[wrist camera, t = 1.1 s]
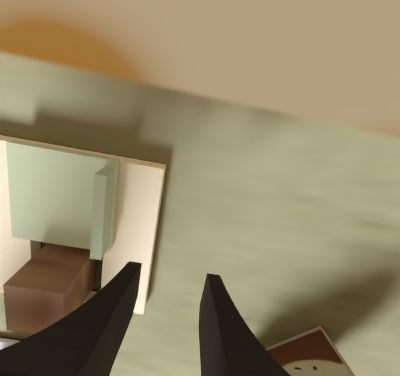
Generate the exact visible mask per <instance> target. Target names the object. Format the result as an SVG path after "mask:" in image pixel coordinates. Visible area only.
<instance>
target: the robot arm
mask: <svg viewBox="0 0 400 376" xmlns="http://www.w3.org/2000/svg"><path fill="white" fill-rule="evenodd" d="M141 266H142V263H138V262H131V261H129V262H128V263H127V264H126V265H125V266H124V267H123V268H122V269H121V270H120V271H119V272H118V273H117V274H116V275H115V276H114V277H113V278H112V279H111V280H110V281H109V282H108V283H107V284H106V285H105V286H104V287H103V288H102V289H101V290H99V291H98V292H97V293H96V294H95V295H93V296H92V297H91V298H90V299H89V300H87V301H86V302H85V303H83V304H82V305H81V306H79V307H78V308H77V309H75V310H74V311H72V312H71V313H69V314H68V315H66V316H65V317H63V318H62V319H60V320H59V321H57V322H55V323H54V324H52V325H50V326H49V327H47V328H45V329H43V330H41V331H39V332H37V333H36V334H34V335H32V336H30V337H28V338H26V339H24V340H22V341H19V340H12V339H4V338H0V376H109V375H110V372H111V369H112V366H113V363H114V360H115V358H116V355H117V353H118V350H119V348H120V345H121V343H122V340H123V338H124V335H125V333H126V330H127V328H128V325H129V323H130V320H131V318H132V315H133V311H134V308H135V304H136V300H137V297H138V290H139V282H140V274H141ZM199 341H200V359H201V376H291V375H290V374H289V373H288V372H287V371H286V370H285V369H284V368H283V367H282V366H281V365H280V364H279V363H278V362H277V361H276V360H275V359H274V358H273V357H272V356H271V355H270V354H269V353H268V351H267V350H266V349H265V348H264V347H263V346H262V345H261V343H260V342H259V341H258V340H257V338H256V337H255V336H254V334H253V333H252V332H251V330H250V329H249V327H248V326H247V324H246V323H245V321H244V320H243V318H242V317H241V315H240V314H239V312H238V310H237V309H236V307H235V305H234V303H233V301H232V300H231V298H230V296H229V294H228V292H227V290H226V288H225V286H224V284H223V281H222V279H221V277H220V276H219V275H214V274H208V273H207V277H206V281H205V286H204V290H203V294H202V299H201V303H200V312H199Z"/></svg>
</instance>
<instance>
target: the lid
mask: <svg viewBox="0 0 400 376" xmlns="http://www.w3.org/2000/svg"><path fill="white" fill-rule="evenodd" d="M6 152H7V167H8V183H9V198H10V214H11V229H12V237H14V238H20V239H27V240H33V241H39V242H46V243H52V244H58V245H65V246H71V247H77V248H84V249H90V259H97V260H101V259H102V258H103V256H104V255H105V253H106V252H110V250H111V248H112V245H113V232H114V220H115V208H116V196H117V184H118V171H119V159H118V158H113V157H107V156H101V155H96V154H90V153H85V152H79V151H73V150H68V149H62V148H57V147H51V146H45V145H40V144H34V143H29V142H23V141H17V140H11V141H7V142H6Z"/></svg>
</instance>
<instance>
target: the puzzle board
mask: <svg viewBox="0 0 400 376" xmlns="http://www.w3.org/2000/svg"><path fill="white" fill-rule="evenodd" d="M11 140H17V141H23V142H29V143H34V144H40V145H45V146H51V147H57V148H62V149H68V150H73V151H79V152H85V153H90V154H96V155H101V156H107V157H113V158H118V159H119V171H118V184H117V196H116V208H115V220H114V232H113V245H112V248H111V250H110V252H106V253H105V255H104V256H103V266H102V280H101V289H102V288H103V287H104V286H105V285H106V284H107V283H108V282H109V281H110V280H111V279H112V278H113V277H114V276H115V275H116V274H117V273H118V272H119V271H120V270H121V269H122V268H123V267H124V266H125V265H126V264H127V263H128V262H129V261H131V262H138V263H142V266H141V274H140V282H139V290H138V297H137V300H136V304H135V308H134V311H133V313H138V314H144V310H145V306H146V302H147V295H148V288H149V281H150V274H151V267H152V260H153V253H154V246H155V239H156V232H157V226H158V219H159V212H160V205H161V198H162V191H163V184H164V177H165V170H166V164H160V163H155V162H149V161H143V160H138V159H132V158H127V157H121V156H115V155H110V154H104V153H99V152H93V151H87V150H82V149H76V148H71V147H65V146H59V145H54V144H48V143H43V142H37V141H31V140H26V139H20V138H15V137H9V136H3V135H0V293H1V294H4V289H3V284H5V283H6V282H7V281H8V280H9V279H10V278H11V277H12V276H13V275H14V274H15V273H16V272H17V271H18V270H19V269H20V268H22V267H23V266H24V265H25V264H26V263H27V262H28V261H29V260H30V259H31V258H32V257H33V256H34V255H35V254H36V253H37V252H38V251H40V250H41V242H39V241H33V240H27V239H20V238H14V237H12V229H11V214H10V198H9V183H8V167H7V152H6V142H7V141H11ZM97 292H98V291H90V293H89V294H88V296H87V298H86V300H85V301H84V303H85V302H86V301H87V300H89V299H90V298H91V297H92V296H93V295H95V294H96V293H97Z"/></svg>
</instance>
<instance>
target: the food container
mask: <svg viewBox="0 0 400 376" xmlns="http://www.w3.org/2000/svg"><path fill="white" fill-rule="evenodd" d="M265 349H266V350H267V351H268V353H269V354H270V355H271V356H272V357H273V358H274V359H275V360H276V361H277V362H278V363H279V364H280V365H281V366H282V367H283V368H284V369H285V370H286V371H287V372H288V373H289V374H290V375H291V376H355V375H354V374H353V372H352V371H351V369H350V368H349V366H348V365H347V363H346V362H345V360H344V359H343V357H342V356H341V354H340V353H339V352H338V350H337V349H336V347H335V346H334V344H333V343H332V341H331V340H330V338H329V337H328V335H327V334H326V332H325V331H324V329H323V328H322V326H319V327H317V328H314V329H312V330H309V331H307V332H304V333H302V334H299V335H297V336H294V337H292V338H289V339H287V340H284V341H282V342H279V343H277V344H274V345H272V346H269V347H267V348H265Z"/></svg>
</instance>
